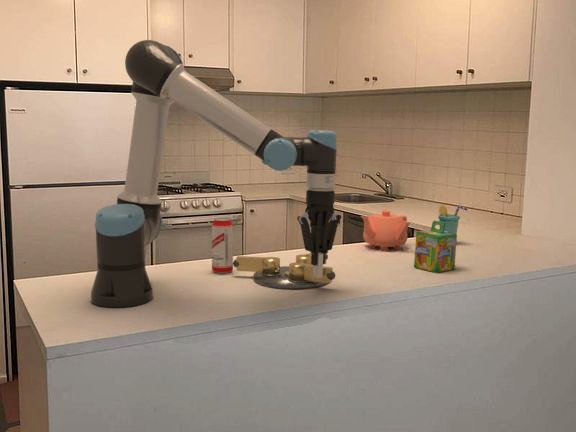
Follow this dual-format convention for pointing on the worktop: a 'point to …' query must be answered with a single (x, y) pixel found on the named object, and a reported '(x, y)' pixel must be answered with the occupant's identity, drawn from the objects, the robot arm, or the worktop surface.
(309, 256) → the knob
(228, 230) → the beer can
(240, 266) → the knob
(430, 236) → the chalk box
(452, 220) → the cup
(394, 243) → the teapot
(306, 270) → the knob
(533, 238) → the worktop surface
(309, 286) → the levelling base
